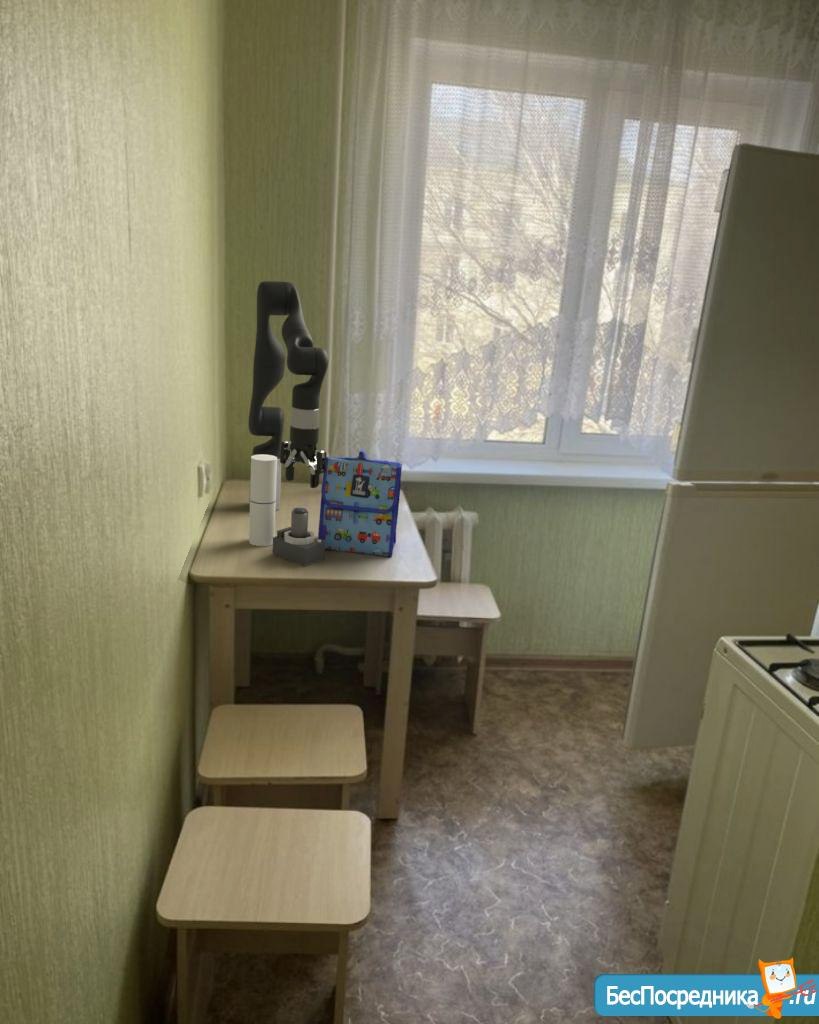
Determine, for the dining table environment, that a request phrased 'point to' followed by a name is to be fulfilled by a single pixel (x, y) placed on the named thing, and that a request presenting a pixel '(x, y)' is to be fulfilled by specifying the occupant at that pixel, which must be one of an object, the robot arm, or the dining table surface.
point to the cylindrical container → (262, 499)
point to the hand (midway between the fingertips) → (301, 483)
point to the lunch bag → (360, 505)
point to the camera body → (298, 547)
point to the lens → (299, 523)
